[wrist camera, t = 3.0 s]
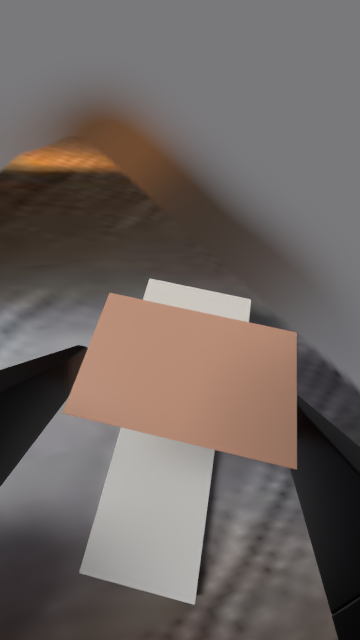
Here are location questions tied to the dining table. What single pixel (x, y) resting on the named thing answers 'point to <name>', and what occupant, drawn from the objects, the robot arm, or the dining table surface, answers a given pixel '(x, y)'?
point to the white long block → (157, 489)
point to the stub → (191, 379)
